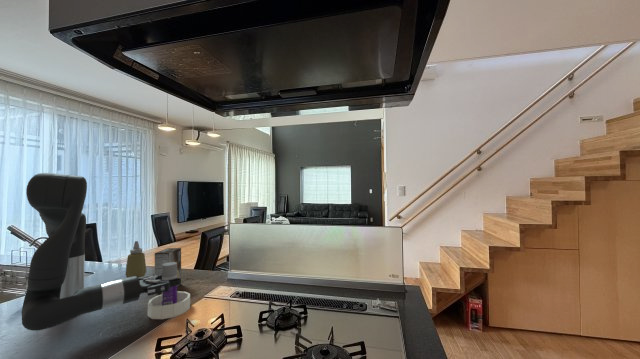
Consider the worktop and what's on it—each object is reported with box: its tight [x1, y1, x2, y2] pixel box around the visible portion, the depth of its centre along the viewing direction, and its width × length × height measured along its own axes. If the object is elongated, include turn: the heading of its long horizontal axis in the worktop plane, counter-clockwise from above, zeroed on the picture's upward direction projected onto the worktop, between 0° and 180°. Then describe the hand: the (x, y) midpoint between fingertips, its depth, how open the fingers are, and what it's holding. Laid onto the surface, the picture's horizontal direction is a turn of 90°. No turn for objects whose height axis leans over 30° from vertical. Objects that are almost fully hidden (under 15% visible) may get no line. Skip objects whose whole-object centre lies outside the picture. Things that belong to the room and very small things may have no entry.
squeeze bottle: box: [124, 240, 147, 278], centre depth 123 cm, size 8×8×18 cm
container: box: [161, 262, 178, 306], centre depth 92 cm, size 5×5×15 cm
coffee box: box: [154, 247, 182, 287], centre depth 113 cm, size 9×6×16 cm
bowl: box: [147, 290, 191, 320], centre depth 92 cm, size 13×13×4 cm
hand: (175, 278), depth 93 cm, fingers open, 8 cm apart
